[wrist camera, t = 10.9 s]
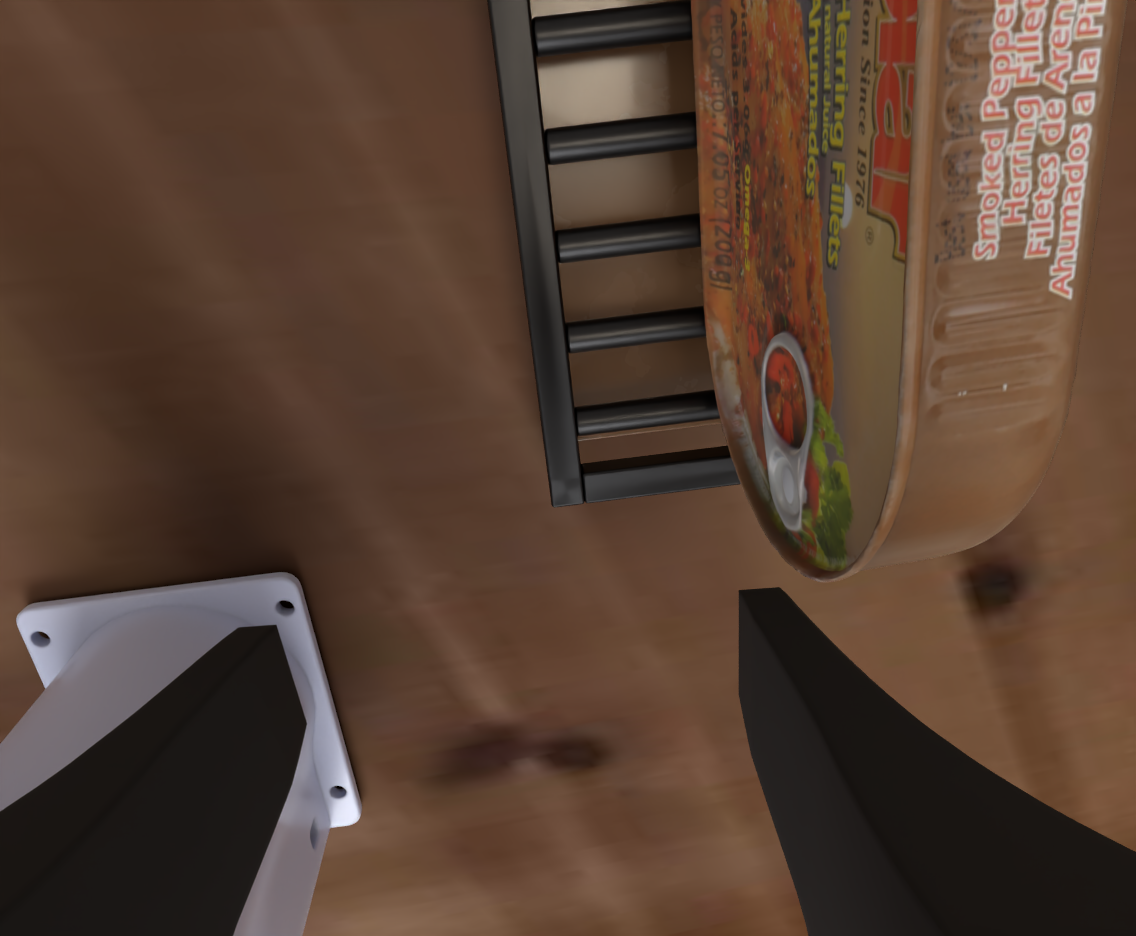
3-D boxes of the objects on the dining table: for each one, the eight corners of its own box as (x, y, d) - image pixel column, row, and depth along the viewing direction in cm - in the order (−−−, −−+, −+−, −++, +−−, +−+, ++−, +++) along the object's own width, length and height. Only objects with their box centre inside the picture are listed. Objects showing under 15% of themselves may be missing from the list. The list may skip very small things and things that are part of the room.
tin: (674, -371, 13) (903, -1063, 6) (863, -391, 13) (1350, -1101, 6) (707, 466, 19) (840, 697, 11) (838, 450, 19) (1058, 668, 12)
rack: (898, 410, 23) (962, 457, 20) (546, 454, 23) (552, 508, 19) (941, -330, 16) (1046, -440, 13) (453, -277, 16) (439, -376, 13)
